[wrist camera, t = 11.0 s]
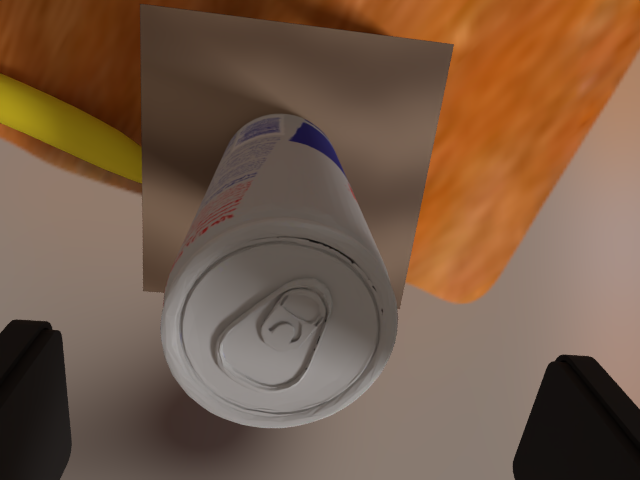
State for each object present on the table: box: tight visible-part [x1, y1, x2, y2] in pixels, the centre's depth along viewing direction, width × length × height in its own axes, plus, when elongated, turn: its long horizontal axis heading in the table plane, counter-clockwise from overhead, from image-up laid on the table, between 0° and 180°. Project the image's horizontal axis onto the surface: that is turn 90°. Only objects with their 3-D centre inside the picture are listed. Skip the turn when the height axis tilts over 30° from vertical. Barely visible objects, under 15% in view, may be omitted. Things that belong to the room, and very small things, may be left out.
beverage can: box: [160, 114, 398, 428], centre depth 19 cm, size 6×6×15 cm
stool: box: [140, 4, 454, 309], centre depth 30 cm, size 14×14×10 cm
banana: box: [0, 73, 142, 184], centre depth 30 cm, size 3×19×6 cm, turn 64°
